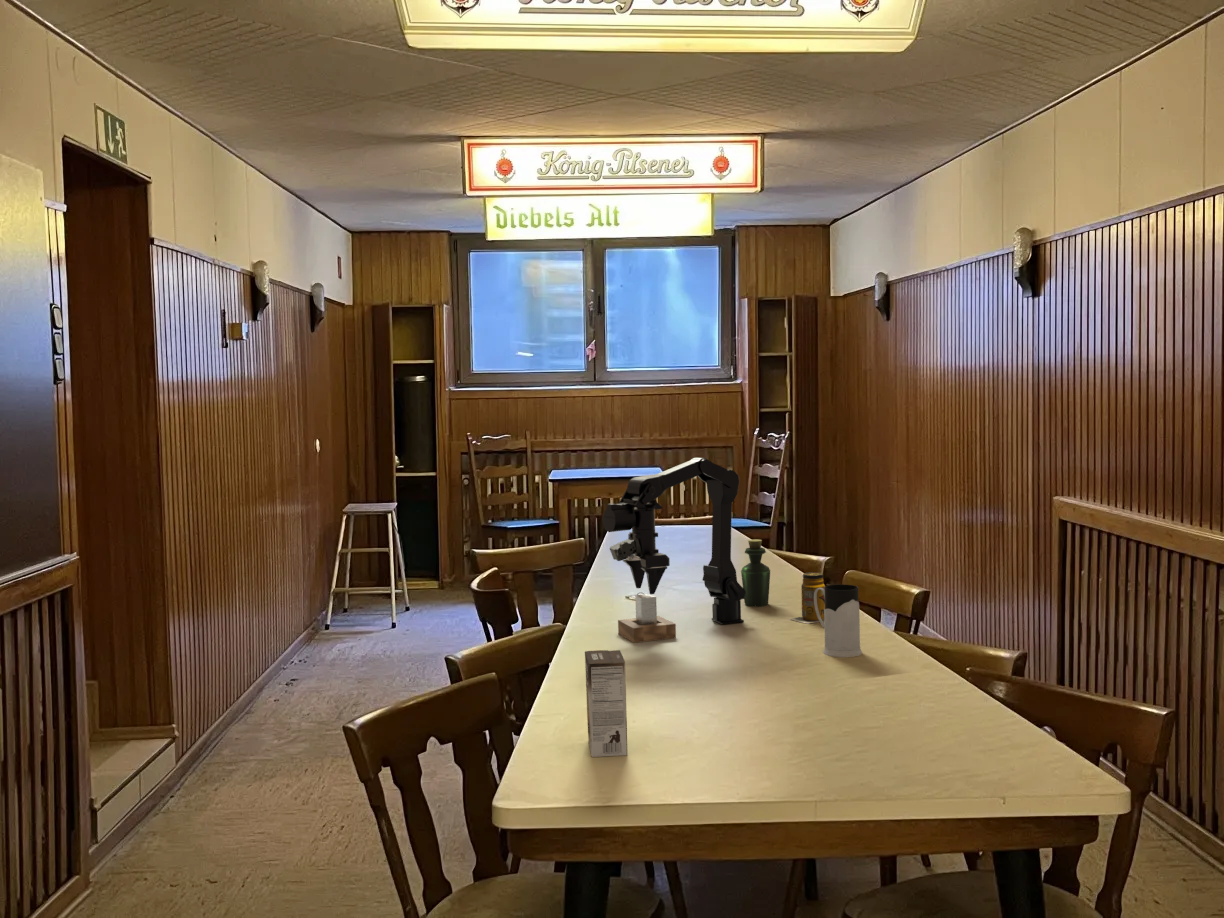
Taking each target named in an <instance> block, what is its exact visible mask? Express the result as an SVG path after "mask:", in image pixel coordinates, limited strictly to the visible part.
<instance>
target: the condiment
mask: <svg viewBox="0 0 1224 918" xmlns="http://www.w3.org/2000/svg"><path fill="white" fill-rule="evenodd" d="M824 582H825V581H824V574H823V573H821V572H805V573H803V575H802V583H801V616H798V617H791V618H789V620H791V621H795V622H798V623H804V624H813V623H820V621H819V619H818V617H817V614H816V611H815V606H814V592H815V590H816V589H817V588H823V589H824V590H825V586H826V585H825V583H824ZM817 606H818V610H819V614H820V617H821V619H822V621H823V622H824V609H825V597H824V594H823V592H822V591H821V590H820V589H819V590H818V592H817Z"/></svg>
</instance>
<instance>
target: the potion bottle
mask: <svg viewBox="0 0 1224 918" xmlns="http://www.w3.org/2000/svg"><path fill="white" fill-rule="evenodd" d="M747 541H748V546H749V547H747V548H745V550H744V554H746V555H748V559H749V563H747V564H745V565H744V566H743V567H742V568H741V570H740V572H741V583H742V587H743V588H744V590H745V591H746V593H745V597H744V599H743V601H744V602H743V603H744V604H745V605H746V606H749V607H765V606H767V605H768V604H769V601H770V600H769V599H770V596H769V595H770V580H771V569H770V567H769V566H767V565H766V564H764V563H762V558H763V555H764V554H765V553H767V551H766V549H765V548H764V547H762V543H763V539H756V538H755V539H747Z"/></svg>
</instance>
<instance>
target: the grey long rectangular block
mask: <svg viewBox="0 0 1224 918" xmlns="http://www.w3.org/2000/svg"><path fill="white" fill-rule="evenodd" d="M657 608H658V607H657V596H656V595H655V594H650V593H646V594H637V595H635V618H636V624H638V625H648V624H657V616H658V615H657V613H658V611H657Z"/></svg>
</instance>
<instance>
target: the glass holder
mask: <svg viewBox="0 0 1224 918" xmlns="http://www.w3.org/2000/svg"><path fill="white" fill-rule="evenodd" d="M819 589H820V590H821V591H822V592H823V594H824V597H825V609H824V621H822V619H821V617H820V614H819V610H818V606H817V592H818V590H819ZM814 606H815V611H816V614H817V617H818V619H819V621H820V622H819V623H820V625H821V626H822V628H823V629H824V647H823V651H822V653H823V654H824V655H825V656H829V657H833V658H834V657H835V658H852V657H857V656H858V657H859V656H861V655H863V651H862V649H861V631H860V628H861V627H860V625H861V624H860V619H861V618H860V602H859V586H857V585H853V584H852V585H851V584H838V583H837V584H831V585H830V584H829V585H825V590H824V589H823V588H817V589H816V590H815V592H814Z"/></svg>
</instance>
